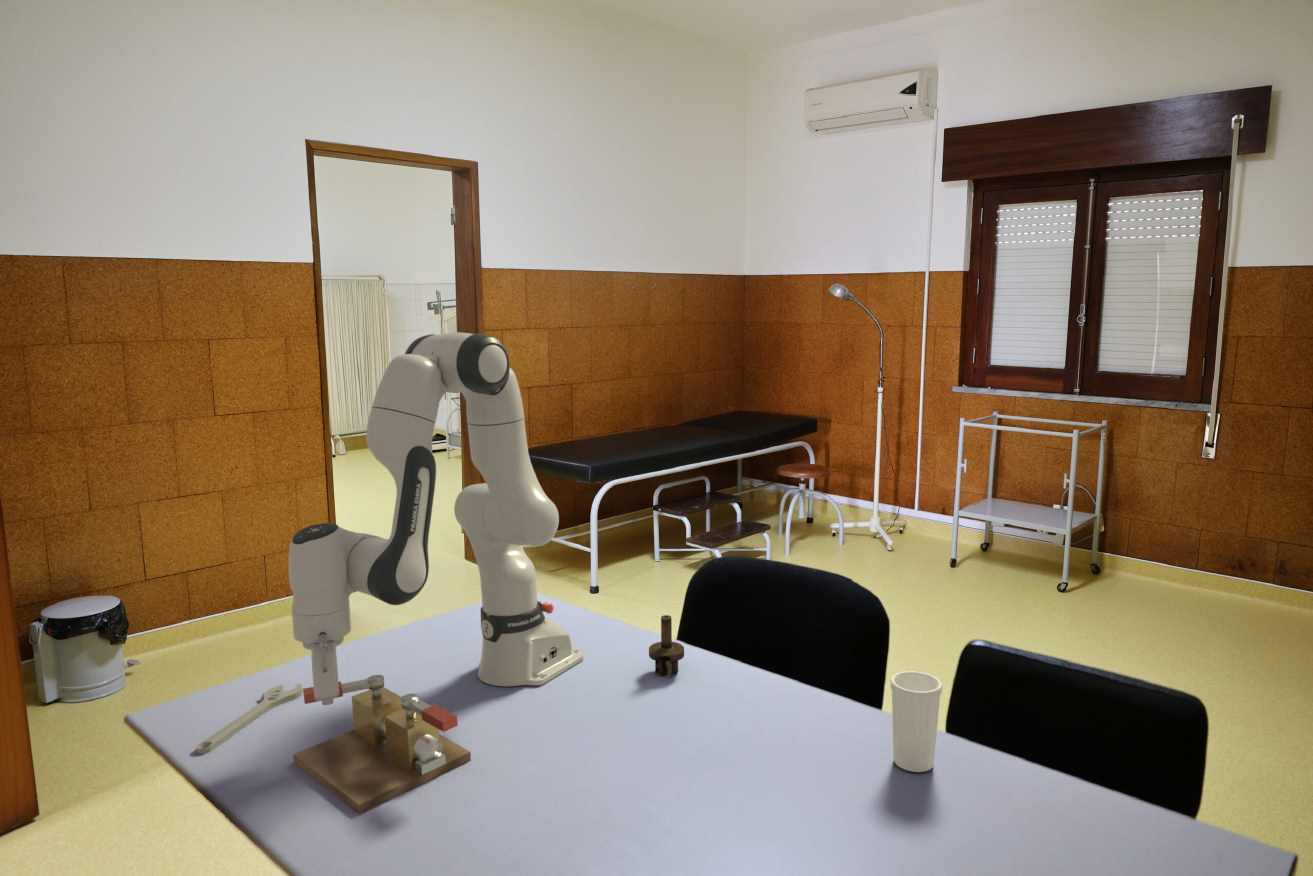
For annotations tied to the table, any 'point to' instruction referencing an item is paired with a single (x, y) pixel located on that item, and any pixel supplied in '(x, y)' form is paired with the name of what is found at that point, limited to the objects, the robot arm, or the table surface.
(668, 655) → the industrial component
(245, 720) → the adjustable wrench
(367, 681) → the valve lever
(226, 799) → the table surface
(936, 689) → the cup
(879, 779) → the table surface
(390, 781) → the base board
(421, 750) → the pipe manifold
